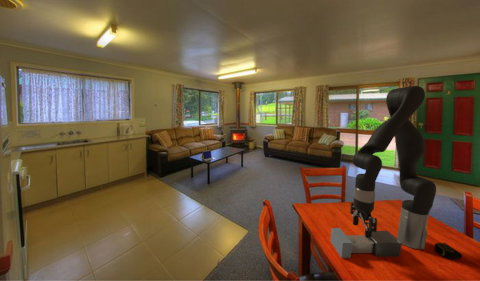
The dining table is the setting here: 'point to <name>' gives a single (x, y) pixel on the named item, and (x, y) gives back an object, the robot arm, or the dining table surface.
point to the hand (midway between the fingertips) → (361, 230)
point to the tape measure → (447, 251)
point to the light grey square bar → (361, 244)
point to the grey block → (341, 243)
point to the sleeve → (386, 244)
